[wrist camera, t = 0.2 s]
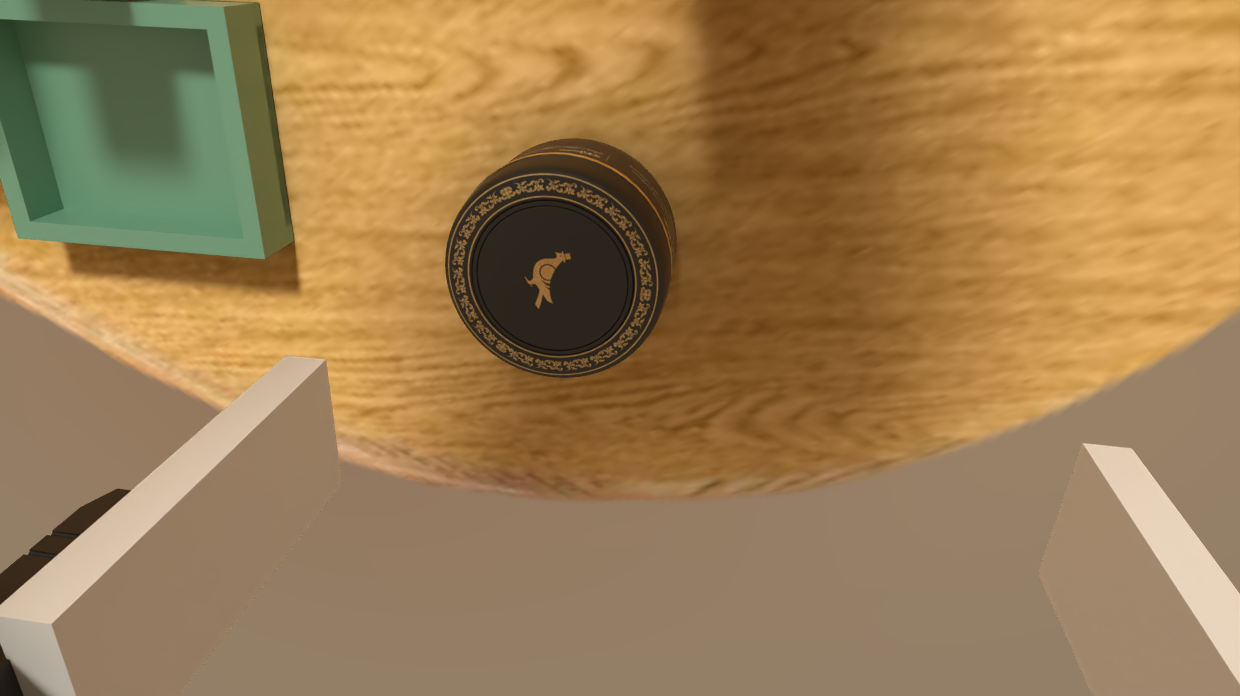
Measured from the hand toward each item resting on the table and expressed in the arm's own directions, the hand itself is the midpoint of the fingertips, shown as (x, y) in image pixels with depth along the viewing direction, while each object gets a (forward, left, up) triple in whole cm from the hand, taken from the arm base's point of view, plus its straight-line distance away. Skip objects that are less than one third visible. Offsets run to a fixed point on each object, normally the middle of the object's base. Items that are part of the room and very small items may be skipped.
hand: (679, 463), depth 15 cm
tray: (+1, -30, -28) cm, 41 cm away
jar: (+5, -7, -28) cm, 29 cm away
